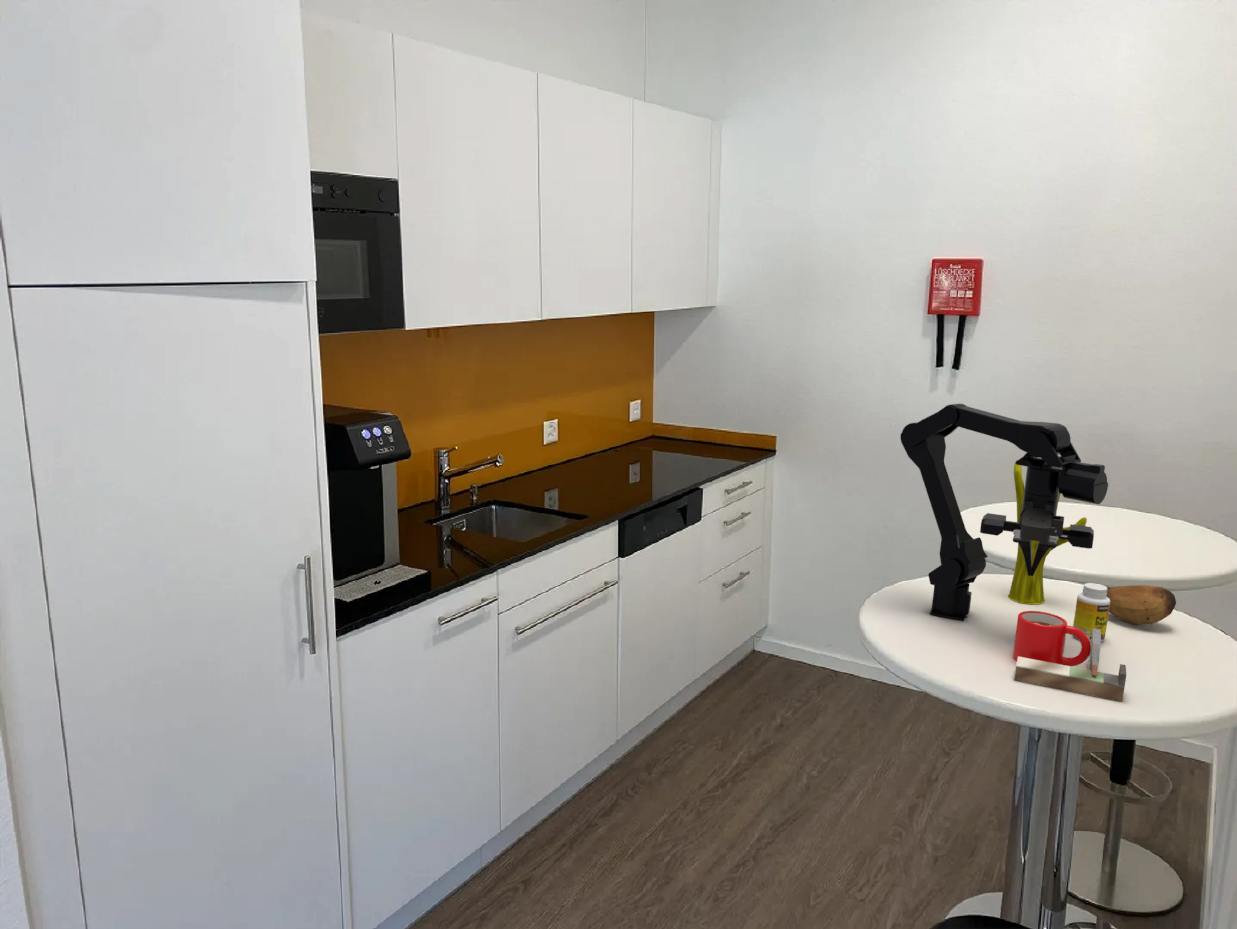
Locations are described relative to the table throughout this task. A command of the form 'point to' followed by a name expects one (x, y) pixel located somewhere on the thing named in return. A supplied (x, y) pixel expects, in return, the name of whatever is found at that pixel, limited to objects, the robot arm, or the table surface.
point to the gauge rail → (1071, 678)
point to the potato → (1140, 603)
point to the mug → (1047, 638)
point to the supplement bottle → (1092, 610)
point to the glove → (1022, 584)
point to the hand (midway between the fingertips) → (1030, 575)
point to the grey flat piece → (1094, 651)
